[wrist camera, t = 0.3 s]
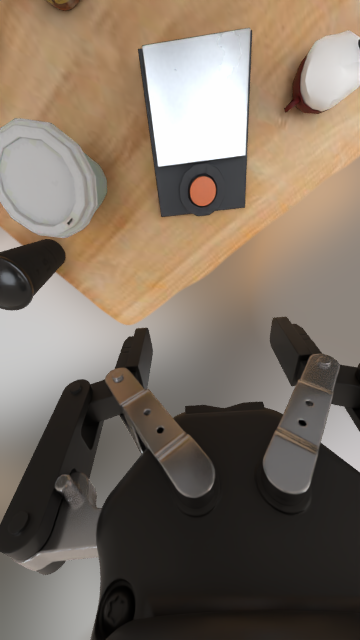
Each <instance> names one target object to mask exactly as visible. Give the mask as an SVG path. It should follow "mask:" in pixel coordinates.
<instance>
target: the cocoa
mask: <svg viewBox="0 0 360 640" xmlns="http://www.w3.org/2000/svg"><path fill="white" fill-rule="evenodd" d="M359 86H360V37H358V36H357V35H356V34H354V33H353V32H351V31H350V30H347V31H344V32H341V33H339V34H334V35H327V36H325V37H323V38H321V39H319V40H317V41H316V42H315V43H314V45H313V46H312V48H311V49H310V51H309V53H308V54H307V55H306V57H305V58H304V59H303V61H302V62H301V64H300V66H299V68H298V71H297V73H296V76H295V79H294V82H293V94H292V97H293V100H292V101H291V102H290V103H289V104H288V105H287V106H286V107H285V108H284V109H285V112H287V111H289V110H290V109H291V108H293V107H294V106H295V105H296V107H297V108H298V109H299V110H301V111H302V112H303V113H312V114H319V113H322V112H324V111H326V110H328V109H330V108H332V107H334V106H335V105H337V104H338V103H339V102H340V101H341V100H343V99H344V98H345V97H347V96H348V95H349V94H351V93H352V92H353V91H355V90H356V89H357V88H358V87H359Z"/></svg>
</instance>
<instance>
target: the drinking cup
mask: <svg viewBox="0 0 360 640" xmlns="http://www.w3.org/2000/svg"><path fill="white" fill-rule="evenodd" d="M64 261H65V252H64V250H63V248H62V247H61V246H60V245H59V244H58V243H57V242H55V241H53V240H50V239H45V240H41V241H38V242H34V243H31V244H27V245H24V246H20V247H17V248H14V249H10V250H7V251H3V252H0V308H1V309H5V310H19V309H22V308H24V307H26V306H27V305H28V304H29V303H30V302H31V301H32V298H33V296H34V295H35V294H36V293H37V291H38V290H39V289H40V288H41V287H42V286H43V285H44V284H45V283H46V281H47V280H48V279H49V278H50V277H51V276H52V275H53V274H54V273H55V272H56V270H57V269H58V268H59V267H60V266H61V265H62V264H63V263H64Z"/></svg>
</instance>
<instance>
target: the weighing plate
mask: <svg viewBox="0 0 360 640" xmlns="http://www.w3.org/2000/svg"><path fill="white" fill-rule="evenodd" d="M142 49H143V57H144V64H145V72H146V79H147V87H148V95H149V102H150V110H151V117H152V125H153V132H154V140H155V147H156V155H157V162H158V167H163V166H170V165H178V164H186V163H193V162H201V161H208V160H216V159H224V158H231V157H239V156H245V155H246V130H247V104H248V79H249V53H250V28H244V29H238V30H232V31H226V32H220V33H214V34H208V35H202V36H196V37H190V38H184V39H178V40H172V41H166V42H160V43H154V44H148V45H143V46H142Z"/></svg>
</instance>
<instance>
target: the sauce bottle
mask: <svg viewBox="0 0 360 640" xmlns="http://www.w3.org/2000/svg"><path fill="white" fill-rule="evenodd" d="M46 1H48V2H49V3H50V4H51V5H53V6H55V7H56V8H59V9H61V10H69V9H72V8H74V6H75V5H76V4H78V2H79V1H80V0H46Z"/></svg>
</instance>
